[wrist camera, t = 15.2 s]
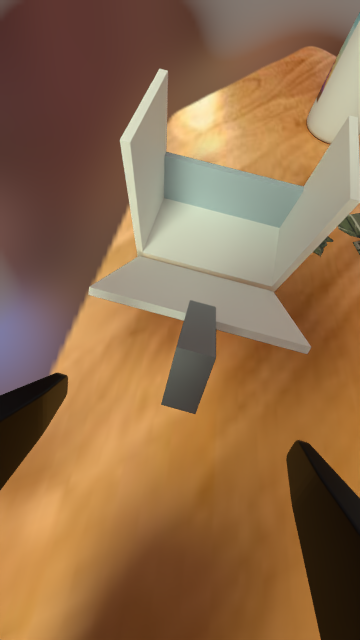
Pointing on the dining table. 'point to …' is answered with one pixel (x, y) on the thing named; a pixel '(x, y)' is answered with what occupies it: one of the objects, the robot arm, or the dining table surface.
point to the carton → (230, 203)
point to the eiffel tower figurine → (351, 225)
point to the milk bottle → (339, 91)
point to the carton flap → (199, 318)
